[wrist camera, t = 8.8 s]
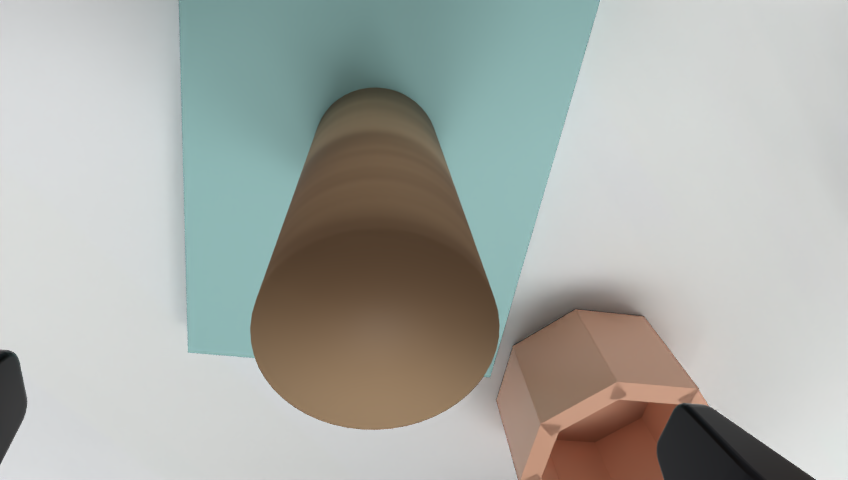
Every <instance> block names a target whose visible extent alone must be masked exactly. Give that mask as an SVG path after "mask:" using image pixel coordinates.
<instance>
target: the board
mask: <svg viewBox="0 0 848 480" xmlns="http://www.w3.org/2000/svg"><path fill="white" fill-rule="evenodd" d="M599 2H600V0H179V25H180V63H181V101H182V139H183V177H184V215H185V253H186V291H187V329H188V352H189V353H201V354H213V355H225V356H237V357H249V358H255V357H254V354H253V349H252V345H251V335H250V325H251V317H252V312H253V308H254V305H255V301H256V298H257V296H258V293H259V290H260V287H261V284H262V282H263V279H264V276H265V273H266V270H267V268H268V265H269V262H270V259H271V256H272V254H273V251H274V248H275V245H276V242H277V239H278V237H279V234H280V231H281V228H282V225H283V223H284V220H285V217H286V214H287V211H288V209H289V206H290V203H291V200H292V197H293V195H294V192H295V189H296V186H297V183H298V180H299V178H300V175H301V172H302V169H303V166H304V164H305V161H306V158H307V155H308V152H309V150H310V147H311V144H312V141H313V138H314V136H315V133H316V130H317V127H318V125H319V122H320V120H321V118H322V117H323V115H324V114H325V112H326V111H327V110H328V108H329V107H330V106H331V105H332V104H333V103H334V102H336V101H337V100H338V99H340V98H341V97H343V96H344V95H346V94H348V93H350V92H353V91H356V90H359V89H364V88H376V87H377V88H386V89H391V90H394V91H397V92H400V93H402V94H404V95H406V96H408V97H409V98H411V99H412V100H414V101H415V102H416V103H417V104H418V105H419V106H420V107H421V108H422V109H423V110H424V111H425V112H426V114H427V115H428V117H429V118H430V120H431V122H432V124H433V127H434V129H435V132H436V135H437V138H438V140H439V143H440V146H441V149H442V152H443V155H444V157H445V160H446V163H447V166H448V169H449V171H450V174H451V177H452V180H453V183H454V186H455V188H456V191H457V194H458V197H459V200H460V202H461V205H462V208H463V211H464V214H465V216H466V219H467V222H468V225H469V228H470V231H471V233H472V236H473V239H474V242H475V245H476V247H477V250H478V253H479V256H480V259H481V261H482V264H483V267H484V270H485V273H486V276H487V278H488V281H489V284H490V287H491V290H492V292H493V295H494V298H495V302H496V305H497V309H498V314H499V323H500V327H499V340H498V344H497V349H496V352H495V355H494V358H493V360H492V363H491V364H490V366H489V368H488V370H487V372H486V374H485V375H484V376H483V377H490V376H491V372H492V369H493V366H494V362H495V359H496V355H497V352H498V348H499V345H500V342H501V338H502V335H503V331H504V328H505V324H506V321H507V318H508V314H509V311H510V307H511V304H512V300H513V297H514V294H515V290H516V287H517V283H518V280H519V276H520V273H521V270H522V266H523V263H524V259H525V256H526V252H527V249H528V246H529V242H530V239H531V235H532V232H533V228H534V225H535V222H536V218H537V215H538V211H539V208H540V204H541V201H542V198H543V194H544V191H545V187H546V184H547V180H548V177H549V174H550V170H551V167H552V163H553V160H554V156H555V153H556V150H557V146H558V143H559V139H560V136H561V132H562V129H563V126H564V122H565V119H566V115H567V112H568V108H569V105H570V102H571V98H572V95H573V91H574V88H575V84H576V81H577V78H578V74H579V71H580V67H581V64H582V60H583V57H584V54H585V50H586V47H587V43H588V40H589V36H590V33H591V30H592V26H593V23H594V19H595V16H596V12H597V9H598V6H599Z"/></svg>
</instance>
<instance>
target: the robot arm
mask: <svg viewBox="0 0 848 480" xmlns="http://www.w3.org/2000/svg"><path fill="white" fill-rule="evenodd" d="M26 408H27V396H26V391H25V387H24V382H23V377H22V372H21V367H20V362H19V359H18V357H17V355H16V354H15V353H14V352H12V351H9V350H0V464H1V462H2V460H3V458H4V456H5V454H6V452H7V450H8V448H9V446H10V444H11V443H12V441H13V439H14V437H15V435H16V433H17V431H18V429H19V427H20V425H21V423H22V421H23V419H24V416H25V413H26ZM657 458H658V462H659V465H660V469H661V472H662V475H663V478H664V480H816V479H814V478H813V477H811V476H810V475H808V474H807V473H805V472H804V471H802V470H801V469H800V468H798V467H797V466H795V465H794V464H792V463H791V462H789V461H788V460H787V459H785V458H784V457H782V456H781V455H779V454H778V453H776V452H775V451H774V450H772V449H771V448H769V447H768V446H766V445H765V444H763V443H762V442H760V441H759V440H758V439H756V438H755V437H753V436H752V435H750V434H749V433H747V432H746V431H745V430H743V429H742V428H740V427H739V426H737V425H736V424H734V423H733V422H731V421H730V420H729V419H727V418H726V417H724V416H723V415H721V414H720V413H718V412H717V411H716V410H714V409H713V408H711V407H709V406H707V405H703V404H691V403H681V404H679V405H678V406H676V407H675V408H674V410H673V412H672V414H671V416H670V418H669V420H668V422H667V424H666V426H665V428H664V430H663V432H662V433H661V435H660V437H659V440H658V442H657Z"/></svg>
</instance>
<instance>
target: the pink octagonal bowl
mask: <svg viewBox="0 0 848 480" xmlns="http://www.w3.org/2000/svg"><path fill="white" fill-rule="evenodd" d="M512 347H513V348H512V351H511V354H510V357H509V361H508V364H507V367H506V371H505V374H504V377H503V380H502V384H501V387H500V390H499V393H498V397H497V400H496V401H497V405H498V408H499V412H500V416H501V419H502V423H503V427H504V430H505V434H506V437H507V441H508V445H509V448H510V452H511V456H512V459H513V463H514V467H515V470H516V474H517V478H518V480H664V478H663V475H662V472H661V469H660V465H659V462H658V458H657V442H658V440H659V437H660V435H661V433H662V432H663V430H664V428H665V426H666V424H667V422H668V420H669V418H670V416H671V414H672V412H673V410H674V408H675V407H676V406H678V405H679V404H681V403H691V404H703V405H707V406H708V404H707V402H706V401H705V399H704V397H703V396H702V394H701V393H700V391H699V388H698V387H697V386H696V384H695V383H694V382H693V380H692V379H691V378H690V376H689V375H688V374H687V372H686V371H685V370H684V369H683V367H682V366H681V365H680V363H679V362H678V361H677V359H676V358H675V357H674V355H673V354H672V353H671V351H670V350H669V349H668V347H667V346H666V345H665V343H664V342H663V341H662V339H661V338H660V337H659V336H658V334H657V333H656V332H655V330H654V329H653V328H652V326H651V325H650V324H649V322H648V321H647V320H646V318H645V317H644V316H635V315H626V314H616V313H606V312H597V311H587V310H578V309H575V310H573V311H572V312H570V313H568V314H567V315H565V316H563V317H562V318H560V319H558V320H557V321H555V322H553V323H551V324H550V325H548V326H546V327H545V328H543V329H541V330H540V331H538V332H536V333H534V334H533V335H531V336H529V337H528V338H526V339H524V340H523V341H521V342H519V343H517V344H516V345H514V346H512Z"/></svg>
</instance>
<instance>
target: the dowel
mask: <svg viewBox="0 0 848 480" xmlns="http://www.w3.org/2000/svg"><path fill="white" fill-rule="evenodd" d="M499 327H500V323H499V314H498V309H497V305H496V302H495V298H494V295H493V292H492V290H491V287H490V284H489V281H488V278H487V276H486V273H485V270H484V267H483V264H482V261H481V259H480V256H479V253H478V250H477V247H476V245H475V242H474V239H473V236H472V233H471V231H470V228H469V225H468V222H467V219H466V216H465V214H464V211H463V208H462V205H461V202H460V200H459V197H458V194H457V191H456V188H455V186H454V183H453V180H452V177H451V174H450V171H449V169H448V166H447V163H446V160H445V157H444V155H443V152H442V149H441V146H440V143H439V140H438V138H437V135H436V132H435V129H434V127H433V124H432V122H431V120H430V118H429V117H428V115H427V114H426V112H425V111H424V110H423V109H422V108H421V107H420V106H419V105H418V104H417V103H416V102H415V101H414V100H412V99H411V98H409V97H408V96H406V95H404V94H402V93H400V92H397V91H394V90H391V89H386V88H377V87H376V88H364V89H359V90H356V91H353V92H350V93H348V94H346V95H344V96H343V97H341V98H340V99H338V100H337V101H336V102H334V103H333V104H332V105H331V106H330V107H329V108H328V110H327V111H326V112H325V114H324V115H323V117H322V118H321V120H320V122H319V125H318V127H317V130H316V133H315V136H314V138H313V141H312V144H311V147H310V150H309V152H308V155H307V158H306V161H305V164H304V166H303V169H302V172H301V175H300V178H299V180H298V183H297V186H296V189H295V192H294V195H293V197H292V200H291V203H290V206H289V209H288V211H287V214H286V217H285V220H284V223H283V225H282V228H281V231H280V234H279V237H278V239H277V242H276V245H275V248H274V251H273V254H272V256H271V259H270V262H269V265H268V268H267V270H266V273H265V276H264V279H263V282H262V284H261V287H260V290H259V293H258V296H257V298H256V301H255V305H254V308H253V312H252V317H251V325H250V335H251V345H252V349H253V354H254V357H255V359H256V362H257V364H258V367H259V369H260V370H261V372H262V374H263V376H264V377H265V379H266V380H267V381H268V383H269V384H270V385H271V387H272V388H273V389H274V390H275V391H276V392H277V393H278V394H279V395H280V396H281V397H282V398H283V399H284V400H286V401H287V402H288V403H290V404H291V405H292V406H294V407H295V408H297V409H298V410H300V411H302V412H304V413H305V414H307V415H309V416H312V417H314V418H316V419H318V420H321V421H324V422H327V423H330V424H333V425H338V426H342V427H347V428H355V429H372V430H378V429H391V428H397V427H403V426H408V425H411V424H415V423H419V422H422V421H424V420H427V419H429V418H432V417H434V416H436V415H438V414H440V413H442V412H444V411H446V410H448V409H449V408H451V407H452V406H454V405H455V404H457V403H458V402H459V401H461V400H462V399H463V398H464V397H465V396H467V395H468V394H469V393H470V392H471V391H472V390H473V389H474V388H475V387H476V386H477V384H478V383H479V382H480V380H481V379H482V378H483V376H484V375H485V374H486V372H487V370H488V368H489V366H490V364H491V363H492V360H493V358H494V355H495V352H496V349H497V344H498V340H499Z"/></svg>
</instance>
